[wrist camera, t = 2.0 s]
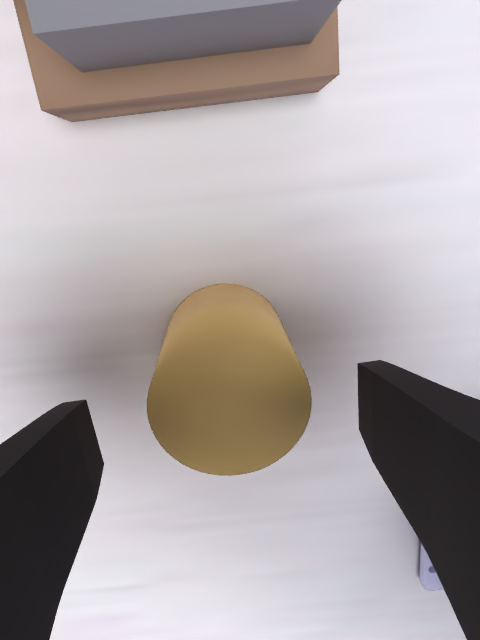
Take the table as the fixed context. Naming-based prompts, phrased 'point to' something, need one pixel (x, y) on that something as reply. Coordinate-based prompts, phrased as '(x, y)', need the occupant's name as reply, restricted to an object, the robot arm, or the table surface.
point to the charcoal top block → (171, 28)
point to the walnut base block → (178, 77)
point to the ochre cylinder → (227, 384)
